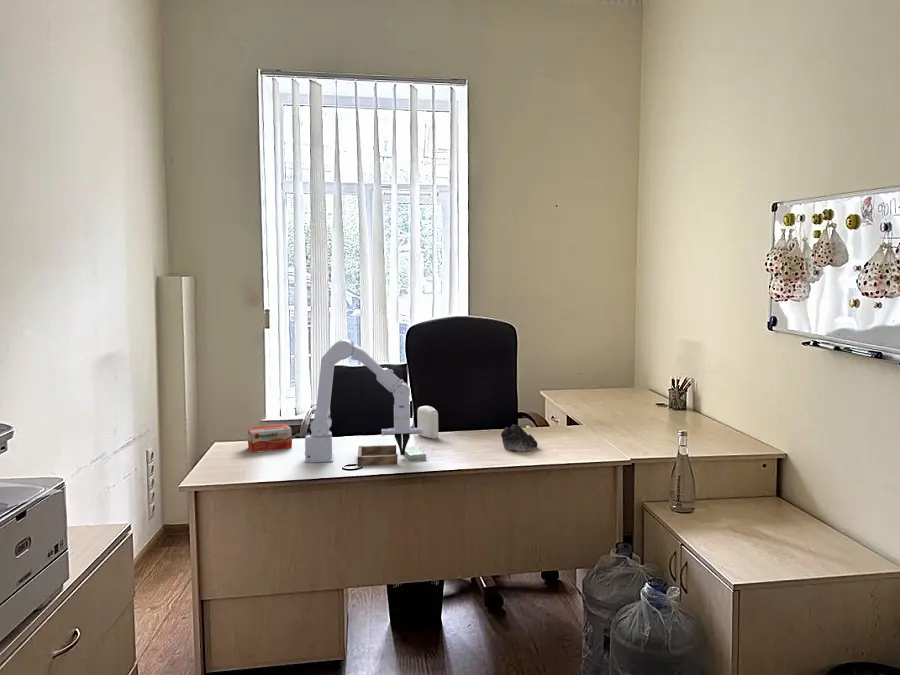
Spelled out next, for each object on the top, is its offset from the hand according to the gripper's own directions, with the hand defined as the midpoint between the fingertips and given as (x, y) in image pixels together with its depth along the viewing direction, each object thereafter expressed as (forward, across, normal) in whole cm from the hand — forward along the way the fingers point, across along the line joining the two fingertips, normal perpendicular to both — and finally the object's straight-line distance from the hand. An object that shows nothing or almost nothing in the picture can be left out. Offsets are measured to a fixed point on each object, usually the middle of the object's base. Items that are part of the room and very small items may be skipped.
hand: (402, 454), depth 249 cm
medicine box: (+2, -49, +21) cm, 54 cm away
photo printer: (+2, +12, +32) cm, 34 cm away
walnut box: (+1, -8, 0) cm, 9 cm away
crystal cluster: (+2, +44, +9) cm, 45 cm away
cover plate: (+2, +4, +2) cm, 5 cm away
